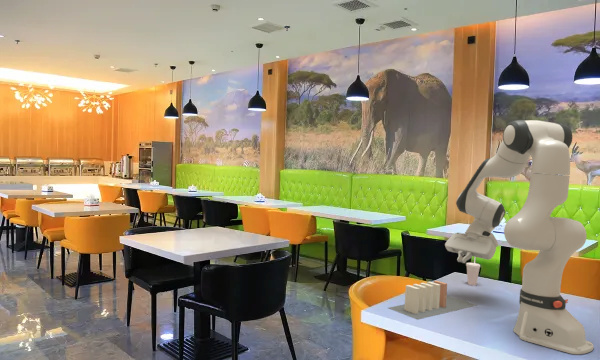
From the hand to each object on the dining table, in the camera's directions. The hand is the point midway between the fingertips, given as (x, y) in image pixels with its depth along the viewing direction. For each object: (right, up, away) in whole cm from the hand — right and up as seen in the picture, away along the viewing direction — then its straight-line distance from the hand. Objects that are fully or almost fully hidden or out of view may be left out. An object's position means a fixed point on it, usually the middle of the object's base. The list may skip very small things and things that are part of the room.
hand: (460, 261), depth 179 cm
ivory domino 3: (-17, -15, -11) cm, 26 cm away
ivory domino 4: (-14, -15, -9) cm, 23 cm away
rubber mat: (-13, -16, -8) cm, 23 cm away
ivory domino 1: (-24, -15, -16) cm, 32 cm away
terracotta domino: (-11, -16, -7) cm, 20 cm away
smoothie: (+17, -17, +32) cm, 40 cm away
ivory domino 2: (-21, -15, -14) cm, 29 cm away
